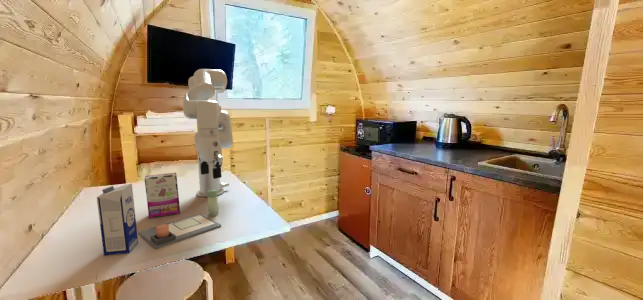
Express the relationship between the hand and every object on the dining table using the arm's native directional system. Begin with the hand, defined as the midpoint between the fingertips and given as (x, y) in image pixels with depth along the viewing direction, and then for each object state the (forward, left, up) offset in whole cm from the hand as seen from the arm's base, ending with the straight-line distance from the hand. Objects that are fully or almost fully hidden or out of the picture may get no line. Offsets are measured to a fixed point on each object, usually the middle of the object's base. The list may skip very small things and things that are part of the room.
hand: (211, 175), depth 115 cm
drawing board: (+15, +5, -16) cm, 22 cm away
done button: (+22, +9, -14) cm, 28 cm away
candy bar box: (+13, -15, -16) cm, 26 cm away
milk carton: (+33, +5, -16) cm, 37 cm away
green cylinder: (0, 0, -16) cm, 16 cm away
